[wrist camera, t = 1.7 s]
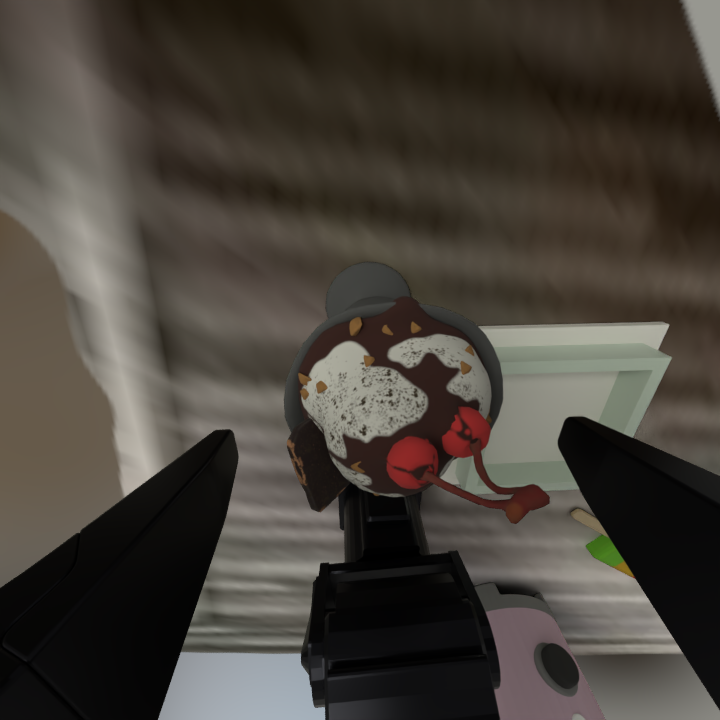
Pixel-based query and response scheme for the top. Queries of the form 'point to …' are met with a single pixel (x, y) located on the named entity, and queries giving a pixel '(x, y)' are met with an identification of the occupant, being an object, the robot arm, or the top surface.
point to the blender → (534, 661)
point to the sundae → (393, 396)
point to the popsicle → (602, 543)
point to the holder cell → (562, 396)
